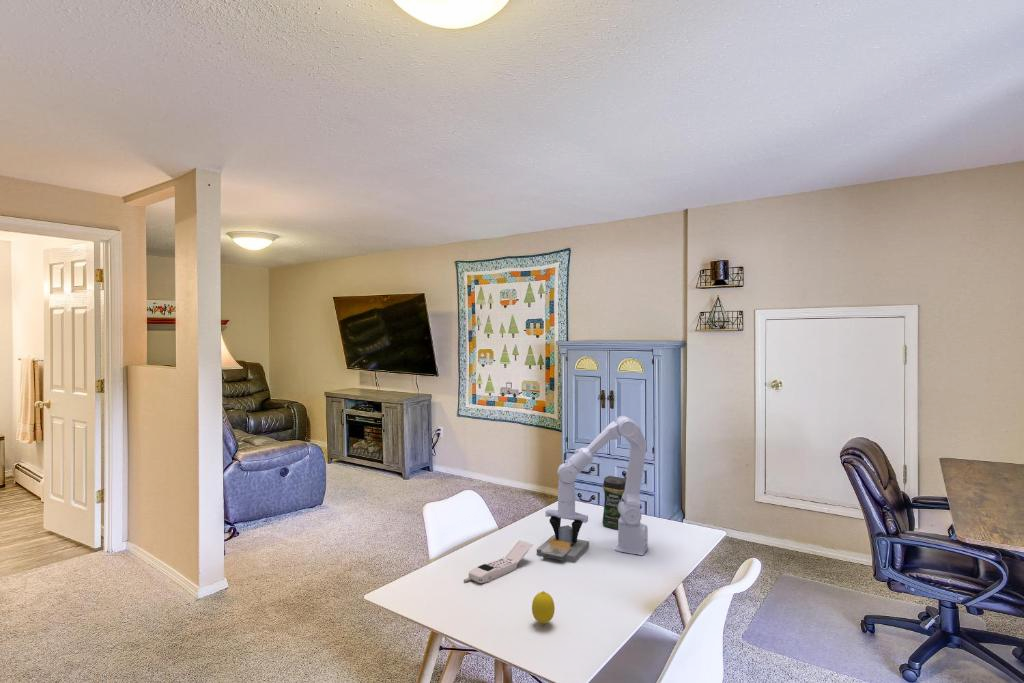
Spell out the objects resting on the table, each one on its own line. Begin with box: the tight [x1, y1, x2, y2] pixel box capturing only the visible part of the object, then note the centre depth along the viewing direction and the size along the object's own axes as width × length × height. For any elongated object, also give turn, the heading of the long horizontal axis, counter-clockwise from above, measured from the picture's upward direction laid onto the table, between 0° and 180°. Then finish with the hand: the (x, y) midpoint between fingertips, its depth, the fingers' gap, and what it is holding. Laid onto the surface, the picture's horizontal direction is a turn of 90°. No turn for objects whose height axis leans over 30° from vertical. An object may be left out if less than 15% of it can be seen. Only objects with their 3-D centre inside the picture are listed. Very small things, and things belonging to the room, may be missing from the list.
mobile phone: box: [463, 540, 534, 584], centre depth 160 cm, size 6×6×25 cm
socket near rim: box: [572, 541, 589, 555], centre depth 176 cm, size 4×6×2 cm, turn 154°
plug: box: [558, 525, 575, 547], centre depth 178 cm, size 4×4×6 cm
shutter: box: [541, 539, 572, 557], centre depth 170 cm, size 8×8×2 cm
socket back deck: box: [536, 541, 583, 564], centre depth 172 cm, size 13×7×2 cm, turn 64°
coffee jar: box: [602, 475, 626, 530], centre depth 200 cm, size 10×8×19 cm
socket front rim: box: [552, 534, 590, 548], centre depth 182 cm, size 13×2×2 cm, turn 64°
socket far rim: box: [545, 535, 556, 543], centre depth 180 cm, size 4×6×2 cm, turn 154°
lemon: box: [531, 590, 555, 626], centre depth 130 cm, size 6×6×8 cm
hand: (566, 540), depth 178 cm, fingers closed on plug, 5 cm apart
